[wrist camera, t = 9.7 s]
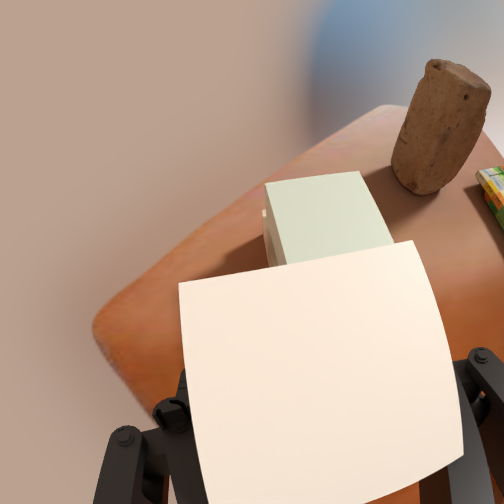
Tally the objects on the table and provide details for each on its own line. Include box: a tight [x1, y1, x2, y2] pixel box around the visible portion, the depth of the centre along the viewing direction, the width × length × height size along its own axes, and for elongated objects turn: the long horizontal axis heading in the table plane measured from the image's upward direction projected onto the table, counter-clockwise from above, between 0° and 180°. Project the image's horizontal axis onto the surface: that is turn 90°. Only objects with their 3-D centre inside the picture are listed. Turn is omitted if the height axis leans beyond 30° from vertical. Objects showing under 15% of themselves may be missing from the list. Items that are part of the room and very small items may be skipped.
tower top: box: [265, 171, 394, 266], centre depth 23 cm, size 9×9×5 cm
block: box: [391, 59, 491, 195], centre depth 27 cm, size 11×8×20 cm
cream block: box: [179, 240, 464, 504], centre depth 10 cm, size 6×6×12 cm
